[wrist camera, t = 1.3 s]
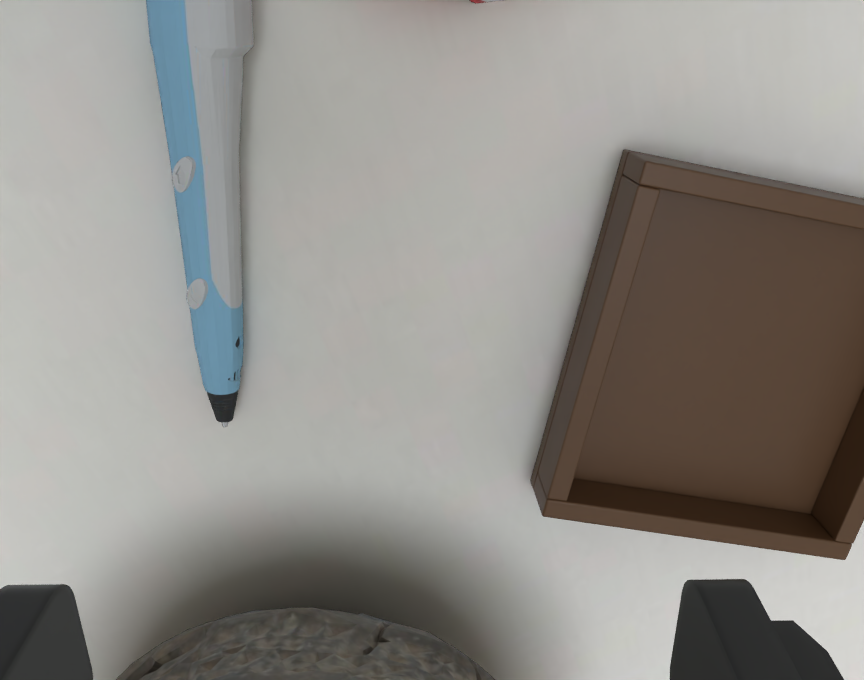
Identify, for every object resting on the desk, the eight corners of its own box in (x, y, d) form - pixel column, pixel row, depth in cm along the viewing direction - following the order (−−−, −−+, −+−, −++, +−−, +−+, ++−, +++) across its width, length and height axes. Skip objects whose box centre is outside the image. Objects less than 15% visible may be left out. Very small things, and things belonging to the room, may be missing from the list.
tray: (623, 148, 29) (645, 160, 26) (945, 215, 30) (994, 232, 28) (530, 481, 33) (541, 517, 31) (813, 524, 35) (845, 561, 33)
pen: (142, -162, 25) (113, -185, 22) (250, -158, 25) (234, -180, 22) (192, 417, 32) (174, 453, 29) (275, 417, 32) (265, 453, 29)
